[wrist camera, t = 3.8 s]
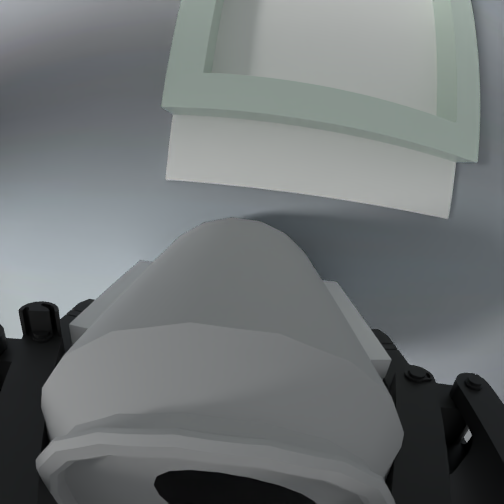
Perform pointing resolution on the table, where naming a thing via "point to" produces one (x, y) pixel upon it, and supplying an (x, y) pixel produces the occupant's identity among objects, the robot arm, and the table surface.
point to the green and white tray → (326, 98)
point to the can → (220, 386)
